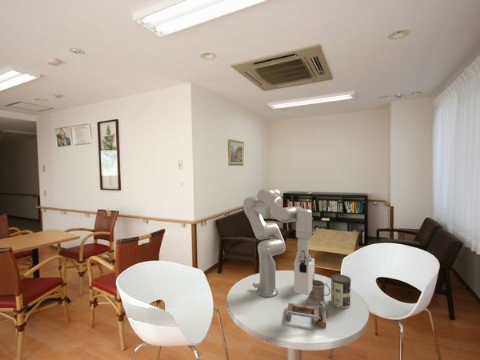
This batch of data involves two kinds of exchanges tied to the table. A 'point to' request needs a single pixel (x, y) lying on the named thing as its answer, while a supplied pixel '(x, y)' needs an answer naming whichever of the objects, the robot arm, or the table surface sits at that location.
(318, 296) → the mug
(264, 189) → the robot arm
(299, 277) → the milk carton
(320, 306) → the hook post
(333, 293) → the coffee can
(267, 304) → the table surface
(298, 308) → the wooden frame
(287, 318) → the rail
